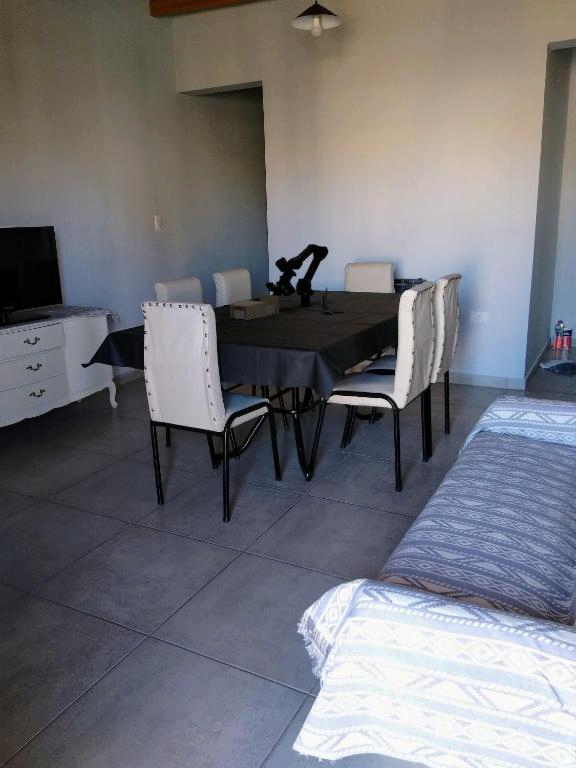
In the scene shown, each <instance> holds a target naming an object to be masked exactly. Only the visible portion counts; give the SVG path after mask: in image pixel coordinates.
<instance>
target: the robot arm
mask: <svg viewBox="0 0 576 768" xmlns="http://www.w3.org/2000/svg"><path fill="white" fill-rule="evenodd" d="M328 255H329V248H328V247H327V246H324V245H322V246H321V245H318V244H315V243H309V244H308V245H306V247H305V248H304V249H302V251H301V252H300V253H299V254H297V255H296V256H293V257H291V258H289V259H288V260H287V259H286V257H284V256H281V257H280V258H279V259H277V260H276V261H275V263H274V266H276V268H277V269H278V271H279V272H280V273H282V274H281V275H279V277H278V278H279V279H278V281H275V283H274V282H272V281H267V282H266V283H265V287H266V288H267V289H268V291H269V292H272V296H278V298H279V297H280V296H282V295H283V296H284V297H290V296H292V295H294V294H295V293H296V295H297V296H300V304H298V307H311V306H313V305H314V304H313V303H311V297H313V296H314V293H315V291H314V290H313V288H312V286H313V285H312V280H313V278H314V276H315V274H316V272H317V271H318V269H319V266H320V264H321V262H322V261H324V260H325V259H326V258H327V257H328ZM310 256H312V260H311V262H310V264H309V265H308V268H307V270H306V272H305V274H304V276H303V278H298V280H297V282H296V283H295V284H296V285H295V287H294V285H293V284H292V282H291V281H292V279H293V277H297V273H296V272H297V271H299V270H300V269H301V268H302V266H303V264H304V262H305V260H307V259H308V258H309V257H310ZM295 270H296V271H295Z"/></svg>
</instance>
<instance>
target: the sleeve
mask: <svg viewBox="0 0 576 768" xmlns="http://www.w3.org/2000/svg"><path fill="white" fill-rule="evenodd" d="M229 306H230V319H231V318H234V311H233V310H236V309H241V308H246V320H250V319H254V320H256V319H255V318H259V319H262V318H261V317H263V318H266V317H267V316H266V307H265V302H260V301H256V300H245V301H241V302H235V303H230V304H229ZM250 321H251V320H250Z"/></svg>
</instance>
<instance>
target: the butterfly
mask: <svg viewBox="0 0 576 768" xmlns="http://www.w3.org/2000/svg"><path fill="white" fill-rule="evenodd" d="M328 295H329V294H328V287H327V286H326V288H325V291H324V294H321V296H320V300H319V301H320V303H319V304H318V306H317V307H320V308H322V310H321V311H320V313H322V312H323V313H324V314H325V312H328V313H330V314H333V315H335V314H334V313H335V312H341V313H343V310H341V309H340V310H339V309H335V308H332V307H333V305H332V306H328V305H327V302H328ZM331 303H332V302H331ZM331 303H330V304H331Z"/></svg>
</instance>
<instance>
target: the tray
mask: <svg viewBox="0 0 576 768" xmlns="http://www.w3.org/2000/svg"><path fill="white" fill-rule="evenodd" d="M259 297H260V298H259V299H260V301H259V302H265V307H266V317H268V316H267V315H269V316H272V314H274V315H277V314H278V315H280V310H279V309H280V307H279V304H280V303H279V297H278V296H273V294H272V295H269V294H259ZM233 311H234V318H236V319H235V320H238V319H244V320H243V321H245V320H246V308H241V309H236V310H233Z"/></svg>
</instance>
